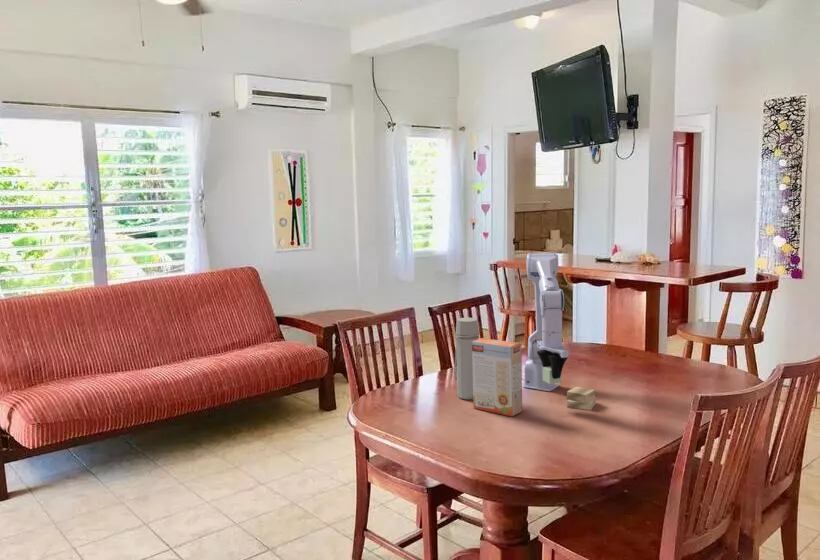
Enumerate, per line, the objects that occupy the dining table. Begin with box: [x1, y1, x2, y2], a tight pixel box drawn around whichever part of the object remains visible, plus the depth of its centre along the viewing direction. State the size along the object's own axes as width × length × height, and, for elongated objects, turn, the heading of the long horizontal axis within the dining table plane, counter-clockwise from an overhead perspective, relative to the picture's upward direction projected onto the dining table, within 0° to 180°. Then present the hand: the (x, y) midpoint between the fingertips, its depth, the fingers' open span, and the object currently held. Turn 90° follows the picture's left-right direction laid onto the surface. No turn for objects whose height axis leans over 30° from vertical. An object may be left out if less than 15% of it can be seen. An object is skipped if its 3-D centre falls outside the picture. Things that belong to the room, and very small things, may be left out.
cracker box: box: [472, 337, 523, 417], centre depth 198 cm, size 14×6×21 cm, turn 48°
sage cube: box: [543, 366, 563, 384], centre depth 198 cm, size 4×4×4 cm
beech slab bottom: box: [566, 397, 596, 411], centre depth 202 cm, size 7×7×2 cm
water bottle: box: [453, 317, 480, 401], centre depth 212 cm, size 9×8×25 cm
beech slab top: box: [566, 386, 596, 403], centre depth 201 cm, size 6×6×2 cm
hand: (552, 376), depth 198 cm, fingers closed on sage cube, 4 cm apart
